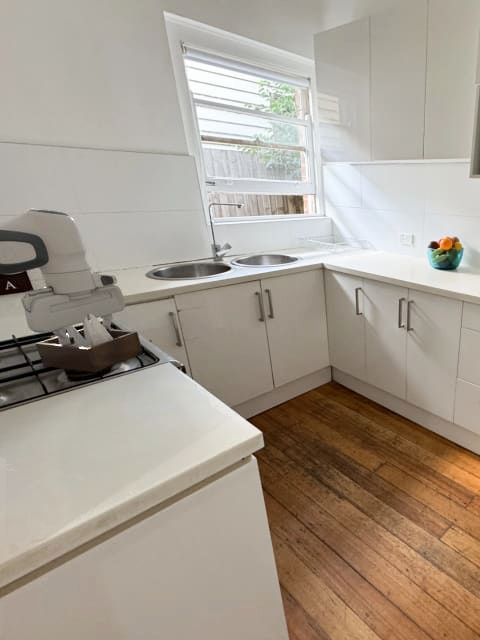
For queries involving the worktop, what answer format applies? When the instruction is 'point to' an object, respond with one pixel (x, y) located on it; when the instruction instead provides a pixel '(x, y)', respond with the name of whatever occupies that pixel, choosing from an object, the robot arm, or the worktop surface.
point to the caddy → (90, 352)
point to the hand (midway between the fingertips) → (88, 338)
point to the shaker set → (88, 333)
